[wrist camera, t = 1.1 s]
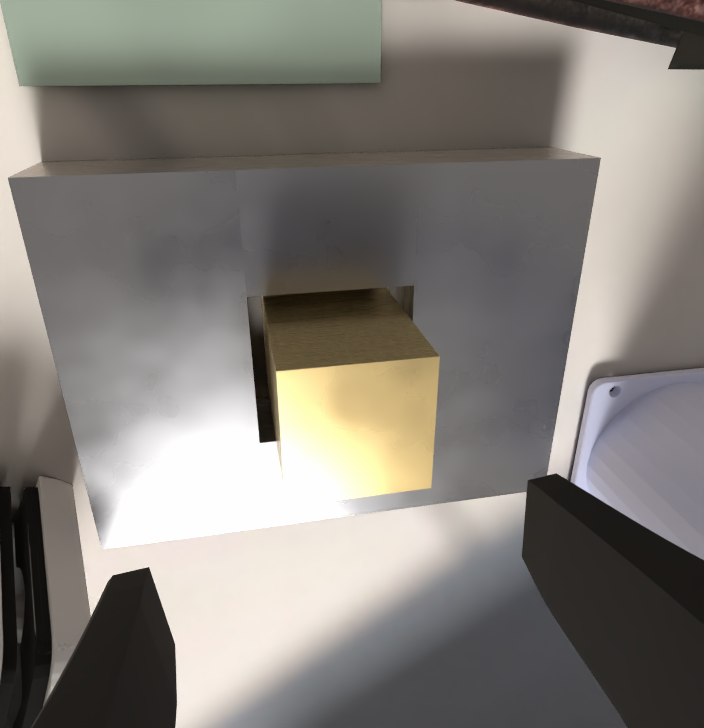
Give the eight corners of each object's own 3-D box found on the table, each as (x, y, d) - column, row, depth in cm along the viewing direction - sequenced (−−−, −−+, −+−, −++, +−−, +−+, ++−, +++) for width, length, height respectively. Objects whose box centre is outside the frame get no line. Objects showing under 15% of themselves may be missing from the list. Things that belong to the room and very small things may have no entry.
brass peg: (374, 272, 21) (439, 356, 14) (373, 374, 22) (431, 488, 16) (259, 280, 20) (275, 371, 14) (268, 384, 22) (285, 507, 16)
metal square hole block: (550, 147, 20) (600, 157, 17) (510, 445, 25) (544, 489, 22) (41, 162, 17) (7, 177, 14) (116, 493, 22) (101, 549, 20)
